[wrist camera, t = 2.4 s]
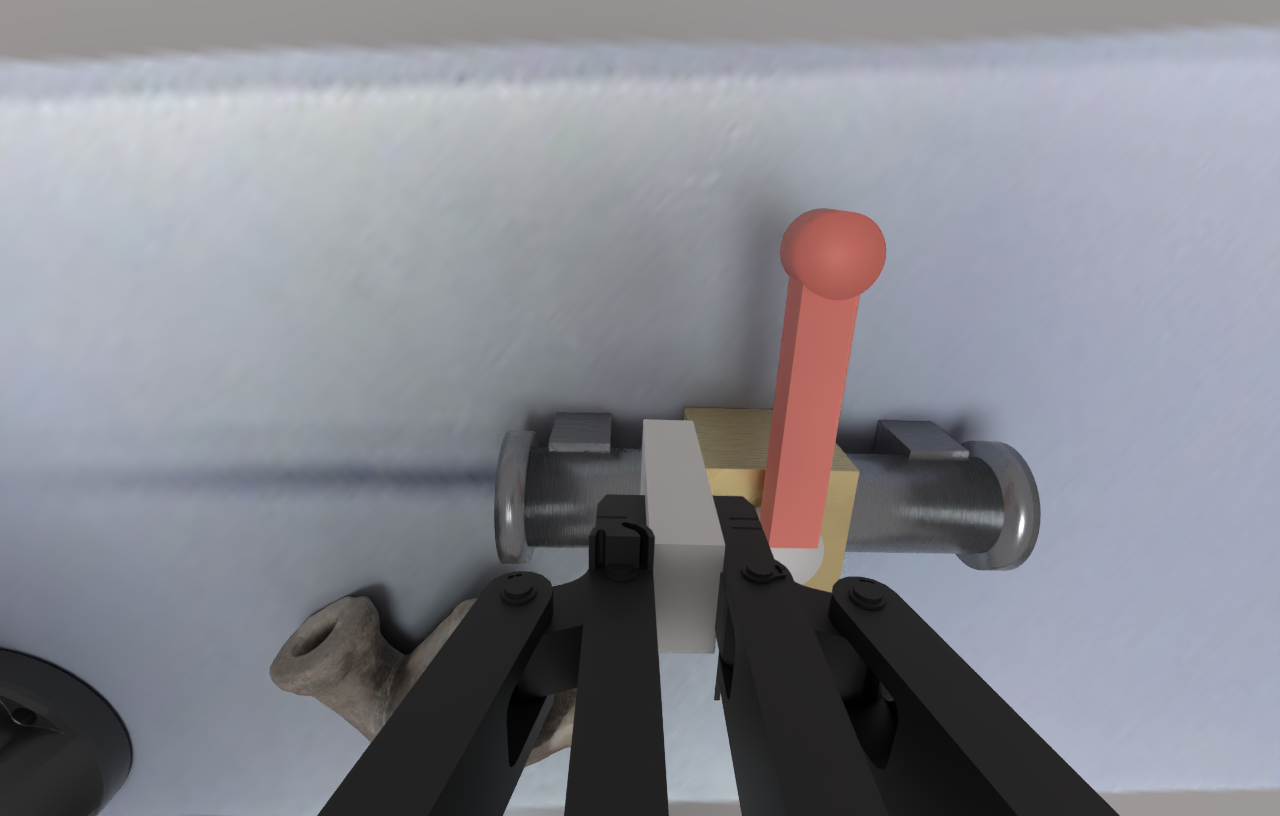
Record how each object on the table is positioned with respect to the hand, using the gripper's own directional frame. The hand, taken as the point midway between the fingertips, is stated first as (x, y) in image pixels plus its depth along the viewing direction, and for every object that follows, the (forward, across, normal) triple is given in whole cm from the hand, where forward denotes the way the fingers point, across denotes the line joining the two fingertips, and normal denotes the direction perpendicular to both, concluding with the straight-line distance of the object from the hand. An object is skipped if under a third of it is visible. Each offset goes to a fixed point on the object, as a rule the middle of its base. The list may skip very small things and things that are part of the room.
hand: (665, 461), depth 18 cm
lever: (+7, +6, -1) cm, 9 cm away
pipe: (+15, -11, -20) cm, 27 cm away
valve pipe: (+14, +6, -7) cm, 17 cm away
